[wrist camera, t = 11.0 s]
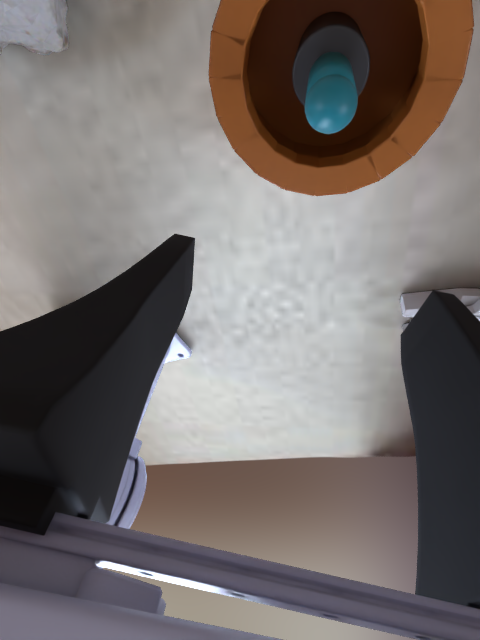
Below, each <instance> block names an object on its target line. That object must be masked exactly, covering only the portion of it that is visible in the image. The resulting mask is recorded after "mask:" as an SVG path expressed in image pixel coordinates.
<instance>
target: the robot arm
mask: <svg viewBox="0 0 480 640" xmlns="http://www.w3.org/2000/svg"><path fill="white" fill-rule="evenodd" d="M194 246H195V238H192V237H188V236H183V235H179V234H174V235H172V236H171V237H170V238H168V239H167V240H166V241H165V242H163V243H162V244H161V245H160V246H158V247H157V248H156V249H155V250H153V251H152V252H151V253H149V254H148V255H147V256H146V257H144V258H143V259H141V260H140V261H139V262H137V263H136V264H135V265H133V266H132V267H131V268H129V269H128V270H126V271H125V272H123V273H122V274H120V275H119V276H117V277H116V278H114V279H113V280H111V281H110V282H108V283H107V284H105V285H103V286H102V287H100V288H98V289H97V290H95V291H93V292H91V293H90V294H88V295H86V296H84V297H82V298H80V299H78V300H76V301H74V302H72V303H70V304H68V305H66V306H63V307H61V308H59V309H56V310H54V311H52V312H50V313H47V314H45V315H43V316H40V317H38V318H36V319H33V320H31V321H28V322H25V323H23V324H20V325H17V326H15V327H12V328H9V329H6V330H3V331H0V640H282V639H277V638H272V637H268V636H263V635H257V634H253V633H248V632H244V631H238V630H234V629H228V628H223V627H219V626H214V625H208V624H204V623H198V622H194V621H188V620H184V619H179V618H174V617H169V616H164V611H165V607H166V603H165V601H164V600H163V599H162V598H161V595H162V590H161V588H160V587H158V586H155V585H152V584H149V583H146V582H143V581H140V580H137V579H134V578H131V577H128V576H125V575H122V574H119V573H115V572H112V571H108V570H104V569H103V568H104V567H106V568H110V569H114V570H118V571H123V572H127V573H132V574H136V575H140V576H145V577H149V578H153V579H157V580H162V581H166V582H170V583H175V584H179V585H184V586H188V587H192V588H197V589H201V590H205V591H209V592H214V593H218V594H222V595H227V596H231V597H235V598H240V599H244V600H248V601H253V602H257V603H261V604H266V605H270V606H275V607H279V608H283V609H287V610H292V611H296V612H300V613H305V614H309V615H313V616H318V617H322V618H327V619H331V620H335V621H339V622H344V623H348V624H352V625H357V626H361V627H366V628H370V629H374V630H379V631H383V632H387V633H391V634H396V635H400V636H404V637H409V638H413V639H418V640H480V321H479V320H478V319H477V318H476V317H475V316H474V314H473V313H472V312H471V311H470V310H469V309H468V308H467V307H466V306H465V305H464V304H463V303H462V302H461V301H460V300H459V299H458V298H457V297H456V296H455V295H454V294H450V293H445V292H441V291H436V290H433V291H432V292H431V293H430V295H429V296H428V298H427V299H426V300H425V302H424V303H423V305H422V306H421V307H420V309H419V310H418V312H417V313H416V314H415V316H414V317H413V319H412V320H411V321H410V323H409V324H408V326H407V327H406V328H405V330H404V331H403V333H402V334H401V364H402V371H403V376H404V382H405V388H406V393H407V399H408V404H409V409H410V415H411V420H412V425H413V431H414V438H415V448H416V462H417V481H418V556H417V578H416V591H415V595H414V594H411V593H406V592H402V591H397V590H393V589H389V588H384V587H380V586H376V585H371V584H367V583H362V582H358V581H354V580H349V579H345V578H340V577H336V576H331V575H327V574H323V573H319V572H315V571H310V570H306V569H301V568H297V567H292V566H288V565H284V564H280V563H275V562H271V561H266V560H262V559H258V558H253V557H249V556H245V555H240V554H236V553H231V552H227V551H222V550H218V549H214V548H210V547H205V546H201V545H197V544H192V543H188V542H183V541H179V540H175V539H170V538H166V537H161V536H157V535H153V534H149V533H144V532H140V531H135V530H131V529H130V527H131V525H132V523H133V521H134V519H135V517H136V515H137V513H138V511H139V508H140V506H141V503H142V500H143V497H144V492H145V489H146V482H147V475H146V466H145V462H144V460H143V458H141V457H140V456H138V453H139V450H140V448H141V445H142V441H140V440H138V439H137V438H135V437H136V434H137V432H138V429H139V426H140V424H141V421H142V419H143V416H144V414H145V411H146V409H147V406H148V404H149V401H150V399H151V396H152V394H153V391H154V389H155V386H156V383H157V381H158V378H159V376H160V373H161V371H162V368H163V366H164V363H166V362H170V361H175V360H179V359H184V358H188V357H190V356H191V354H192V351H191V349H190V348H189V347H188V346H187V345H186V344H185V343H184V341H183V340H182V339H181V338H180V337H179V336H178V335H177V333H176V331H177V329H178V327H179V325H180V322H181V320H182V318H183V316H184V313H185V310H186V307H187V304H188V300H189V297H190V294H191V291H192V280H193V263H194Z"/></svg>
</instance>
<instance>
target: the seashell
mask: <svg viewBox="0 0 480 640" xmlns="http://www.w3.org/2000/svg"><path fill="white" fill-rule="evenodd" d="M67 12H68V6H67V3H66V0H0V55H1V53H2V49H3V48H4V47H6V46H7V45H8V44H10V43H11V44H18V45H23V46H25V47H26V48H27V49H28V50H29V51H31V52H35V53H38V54H41V55H49V54H50V53H52V52H53V51H54V52H60V51H63V50H66V49H67V48H68V45H69V36H68V27H67V24H66V16H67Z"/></svg>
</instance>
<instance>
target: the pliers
mask: <svg viewBox="0 0 480 640" xmlns="http://www.w3.org/2000/svg"><path fill="white" fill-rule="evenodd" d="M436 291H441V292H445V293H450V294H454V295H455V296H456V297H457V298H458V299H459V300H460V301H461V302H462V303H463V304H464V305H465V306H466V307H467V308H468V309H469V310H470V311H471V312H472V313H473V314H474V316H475V317H476V318H477V319H478V320H479V321H480V289H474V288H455V289H445V290H436ZM431 292H432V291H426V292H416V293H407V294H402V295H401V299H400V304H401V309H402V314H403V317H414V316H415V314H416V313H417V312H418V310H419V309H420V307H421V306H422V305H423V303H424V302H425V300H426V299H427V298H428V296H429V295H430V293H431ZM408 324H409V323H407V324H403V325H402V329H403V331H404V330H405V328H406V327H407V326H408Z"/></svg>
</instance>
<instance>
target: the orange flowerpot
mask: <svg viewBox="0 0 480 640" xmlns="http://www.w3.org/2000/svg"><path fill="white" fill-rule="evenodd" d="M328 12H342V13H345V14H347V15H349V16H350V17H351V18H353V19H354V20H355V22H356V23H357V24H358V26H359V28H360V30H361V33H362V35H363V37H364V40H365V42H366V45H367V47H368V50H369V55H370V70H369V76H368V79H367V82H366V84H365V87H364V89H363V90H362V92H361V94H360V95H359V96H358V104H357V109H356V112H355V115H354V117H353V119H352V120H351V122H350V123H349V124H348V125H347V126H346V127H345V128H343V129H342V130H340V131H338V132H335V133H331V134H324V133H321V132H318V131H316V130H315V129H314V128H313V127H312V126H311V125H310V124H309V122H308V120H307V118H306V114H305V106H304V105H303V104H302V103H301V102H300V101H299V99H298V97H297V96H296V93H295V91H294V87H293V82H292V69H293V63H294V60H295V56H296V53H297V50H298V46H299V43H300V40H301V38H302V35H303V33H304V31H305V30H306V28H307V27H308V26H309V25H310V23H311V22H313V21H314V20H315V19H316V18H317V17H319V16H321V15H323V14H325V13H328ZM473 27H474V19H473V8H472V0H221V1H220V5H219V8H218V11H217V14H216V17H215V20H214V23H213V26H212V29H213V30H212V31H211V42H210V60H209V82H210V87H211V92H212V96H213V101H214V106H215V111H216V116H217V117H218V120H219V122H220V124H221V126H222V128H223V130H224V132H225V134H226V136H227V138H228V140H229V142H230V144H231V146H232V148H233V149H235V150H234V151H235V152H236V153H237V154H238V155H239V156H240V157H241V158H242V160H243V161H244V162H245V163H246V164H247V165H248V166H249V167H250V168H251V169H252V170H253V171H254V172H255V173H256V174H258V175H259V176H260V177H262V178H264V179H266V180H268V181H269V182H271V183H273V184H275V185H277V186H278V187H280V188H282V189H285V190H288V191H293V192H297V193H302V194H307V195H312V196H314V195H315V196H323V195H333V194H344V193H347V192H351V191H354V190H357V189H359V188H362V187H364V186H367V185H369V184H372V183H375V182H377V181H379V180H380V179H383V178H384V177H386V176H387V175H388V174H390V173H391V172H393V171H394V170H395V169H397V168H398V167H399V166H401V165H402V164H404V163H405V162H406V161H408V160H409V159H411V157H412V156H414V155H415V154H416V153H417V152H418V150H419V149H420V148H421V147H422V146H423V144H424V143H425V142H426V141H427V140H428V139H429V137H430V136H431V135H432V134H433V133H434V131H435V130H436V129H437V128H438V127H439V126H440V124H441V122H442V121H443V119H444V117H445V115H446V113H447V111H448V109H449V107H450V105H451V103H452V101H453V99H454V97H455V95H456V93H457V91H458V89H459V87H460V85H461V83H462V79H463V77H464V74H465V69H466V64H467V59H468V55H469V50H470V45H471V40H472V35H473Z"/></svg>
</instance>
